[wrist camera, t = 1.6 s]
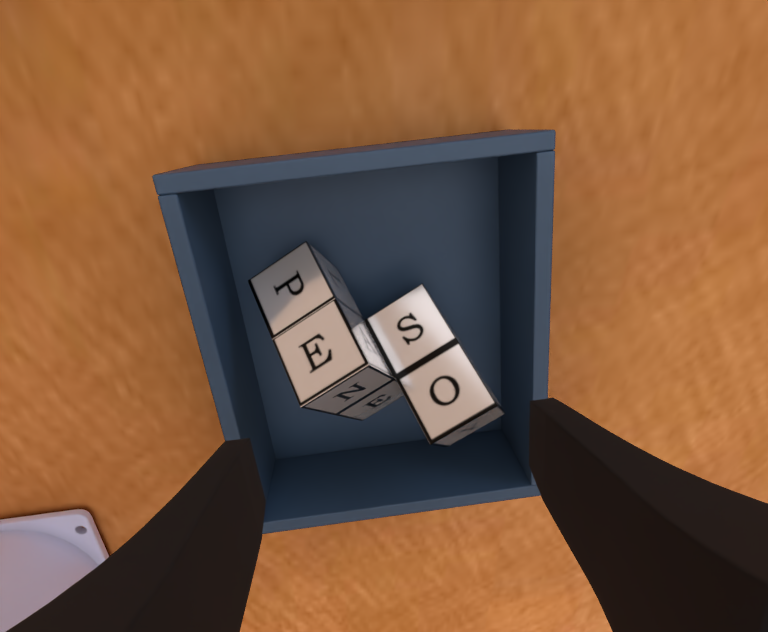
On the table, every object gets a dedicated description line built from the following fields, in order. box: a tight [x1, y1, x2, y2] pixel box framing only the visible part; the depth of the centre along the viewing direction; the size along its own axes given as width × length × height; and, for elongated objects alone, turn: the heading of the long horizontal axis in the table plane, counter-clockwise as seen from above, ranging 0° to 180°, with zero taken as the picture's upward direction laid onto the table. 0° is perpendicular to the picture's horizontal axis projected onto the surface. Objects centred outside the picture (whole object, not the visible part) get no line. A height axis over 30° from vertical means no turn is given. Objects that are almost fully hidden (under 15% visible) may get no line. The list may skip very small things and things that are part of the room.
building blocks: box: [248, 241, 505, 447], centre depth 18 cm, size 5×5×8 cm
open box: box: [153, 130, 555, 534], centre depth 19 cm, size 14×12×4 cm
